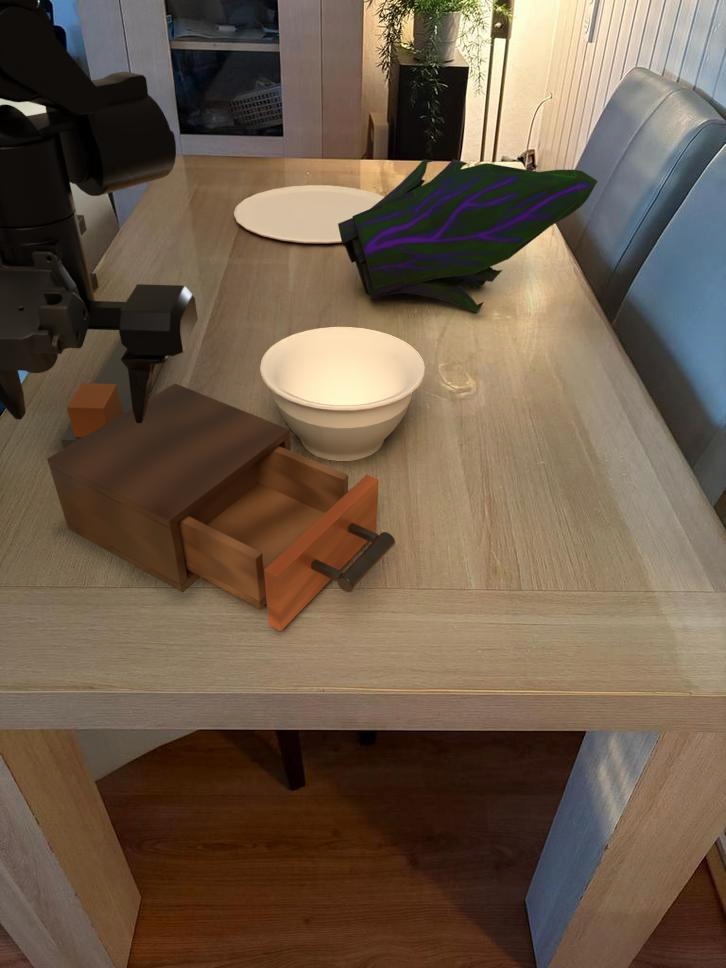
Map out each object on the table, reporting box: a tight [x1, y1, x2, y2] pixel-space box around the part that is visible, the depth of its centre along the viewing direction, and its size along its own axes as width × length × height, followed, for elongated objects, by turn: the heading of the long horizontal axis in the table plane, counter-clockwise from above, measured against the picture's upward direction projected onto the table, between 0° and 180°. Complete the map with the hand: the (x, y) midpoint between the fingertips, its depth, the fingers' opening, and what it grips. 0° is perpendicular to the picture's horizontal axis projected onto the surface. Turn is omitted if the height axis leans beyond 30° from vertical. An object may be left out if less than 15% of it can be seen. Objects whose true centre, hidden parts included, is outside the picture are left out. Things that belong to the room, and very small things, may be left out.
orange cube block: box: [66, 382, 123, 438], centre depth 75 cm, size 5×4×4 cm
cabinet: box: [46, 383, 292, 593], centre depth 65 cm, size 14×15×8 cm
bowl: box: [259, 326, 426, 462], centre depth 74 cm, size 16×16×8 cm
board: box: [61, 339, 164, 448], centre depth 86 cm, size 30×6×1 cm, turn 179°
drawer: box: [178, 446, 396, 632], centre depth 60 cm, size 16×13×6 cm
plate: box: [233, 184, 385, 245], centre depth 129 cm, size 29×29×1 cm
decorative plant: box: [338, 158, 598, 314], centre depth 99 cm, size 21×26×30 cm
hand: (80, 418), depth 57 cm, fingers open, 9 cm apart
